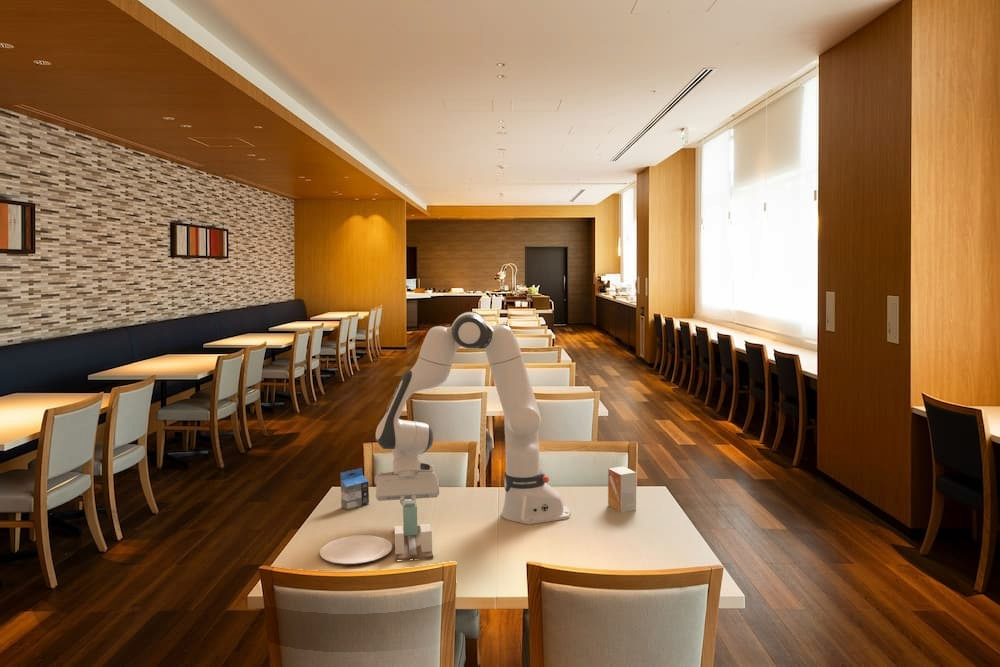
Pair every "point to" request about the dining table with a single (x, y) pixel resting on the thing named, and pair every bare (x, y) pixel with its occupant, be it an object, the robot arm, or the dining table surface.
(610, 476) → the small box
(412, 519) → the block
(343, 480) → the label tape cartridge
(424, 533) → the mounted modules
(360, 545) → the plate
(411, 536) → the rail board
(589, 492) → the dining table surface
